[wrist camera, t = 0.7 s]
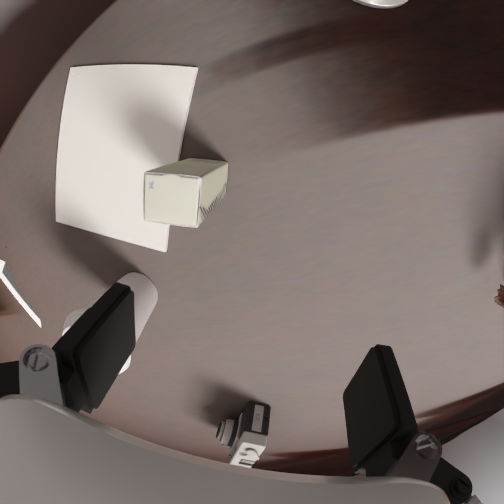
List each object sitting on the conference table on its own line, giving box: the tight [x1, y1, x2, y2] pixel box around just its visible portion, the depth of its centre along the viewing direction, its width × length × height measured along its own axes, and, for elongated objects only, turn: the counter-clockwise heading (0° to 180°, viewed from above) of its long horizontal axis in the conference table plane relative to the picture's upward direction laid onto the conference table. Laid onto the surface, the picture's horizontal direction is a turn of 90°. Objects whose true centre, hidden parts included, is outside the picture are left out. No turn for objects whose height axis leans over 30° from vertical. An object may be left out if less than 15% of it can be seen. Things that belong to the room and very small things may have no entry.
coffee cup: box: [62, 272, 158, 374], centre depth 35 cm, size 10×10×15 cm
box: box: [143, 158, 228, 227], centre depth 28 cm, size 5×4×13 cm
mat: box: [56, 64, 198, 252], centre depth 34 cm, size 24×20×1 cm
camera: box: [216, 401, 271, 468], centre depth 47 cm, size 14×8×10 cm, turn 165°
